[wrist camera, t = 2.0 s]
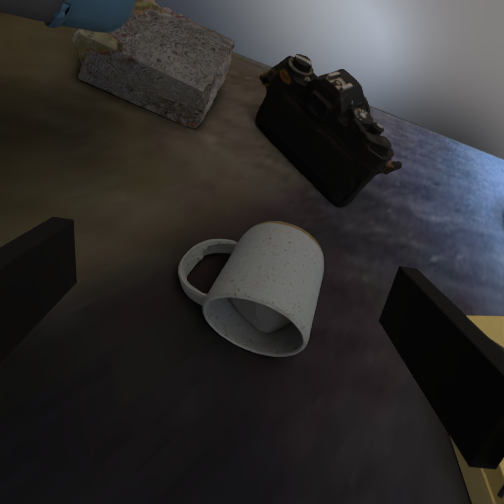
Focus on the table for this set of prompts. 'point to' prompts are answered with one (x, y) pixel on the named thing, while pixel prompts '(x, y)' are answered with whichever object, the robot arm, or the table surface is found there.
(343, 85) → the film camera
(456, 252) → the table surface
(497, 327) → the tan lidded box
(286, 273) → the ceramic mug
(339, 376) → the table surface
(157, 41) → the geological specimen
